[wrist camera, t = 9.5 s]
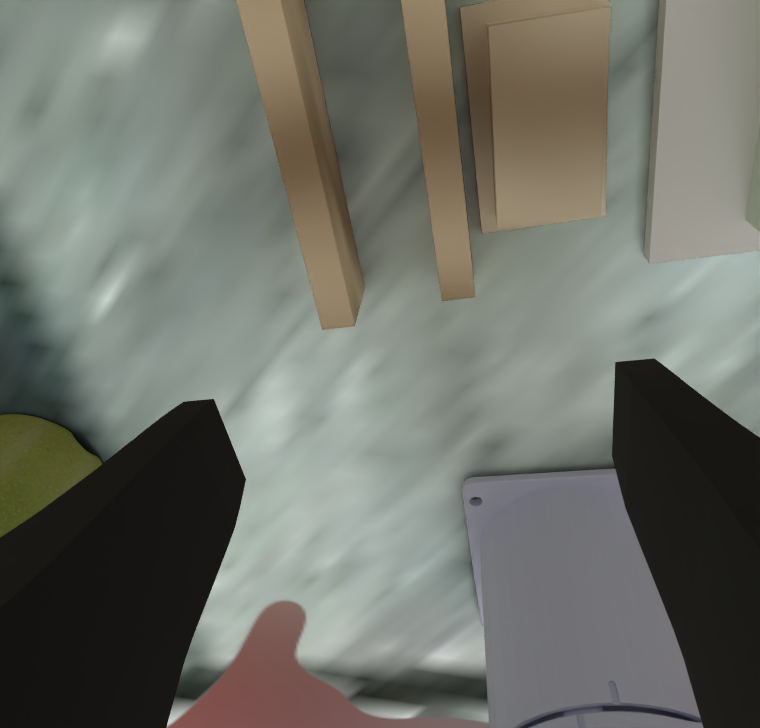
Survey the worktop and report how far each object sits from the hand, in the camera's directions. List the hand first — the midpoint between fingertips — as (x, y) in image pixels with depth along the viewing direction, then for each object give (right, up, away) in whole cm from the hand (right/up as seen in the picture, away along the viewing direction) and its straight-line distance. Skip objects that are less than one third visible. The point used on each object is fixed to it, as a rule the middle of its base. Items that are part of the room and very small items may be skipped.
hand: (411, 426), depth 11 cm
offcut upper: (+4, +8, +5) cm, 10 cm away
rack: (-1, +8, +6) cm, 10 cm away
